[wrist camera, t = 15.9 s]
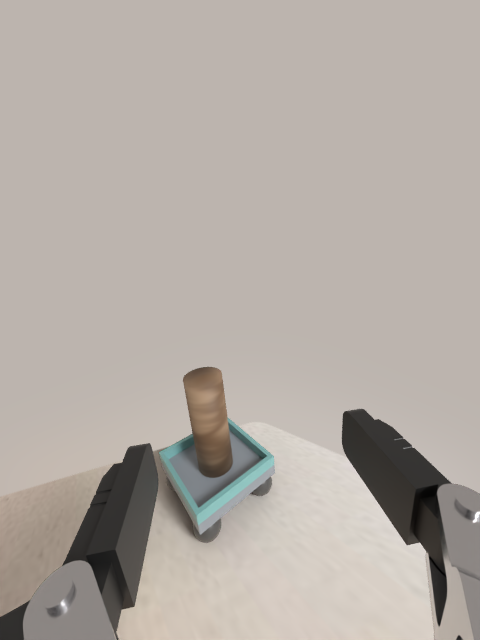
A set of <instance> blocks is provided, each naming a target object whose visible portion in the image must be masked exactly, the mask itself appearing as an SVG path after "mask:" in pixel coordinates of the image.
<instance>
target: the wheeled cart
mask: <svg viewBox="0 0 480 640" xmlns="http://www.w3.org/2000/svg"><path fill="white" fill-rule="evenodd" d="M227 418H228V417H227ZM228 426H229V433H230V441H231V448H232V456H233V464H232V467H231V469H230V470H229V471H228V472H227V473H226V474H224V475H222V476H220V477H216V478H209V477H206V476H204V475H202V474H201V472H200V471H199V466H198V461H197V455H196V450H195V444H194V438H193V434H191V435H189V436H188V437H186V438H184V439H182V440H181V441H179V442H177V443H175V444H173V445H171V446H170V447H168V448H166V449H164V450H162V451H161V452H159V455H160V459H161V464H162V468H163V470H164V472H165V473H166V475H167V478H166V480H167V485H168V487H169V488H170V489H171V490H174V491H176V493H177V495H178V496H179V498H180V500H181V502H182V504H183V505H184V507H185V509H186V511H187V512H188V514H189V516H190V518H191V520H192V521H193V531H194V534H195V536H196V538H197V539H198V540H199V541H201V542H204V543H208V542H211V541H213V540H214V539H215V538H216V537H217V535H218V534H219V532H220V528H221V517H222V516H224V515H225V514H226V513H227V512H228V511H230V510H231V509H232V508H233V507H234V506H236V505H237V504H238V503H239V502H241V501H242V500H243V499H244V498H245V497H247V496H248V495H249V494H250V493H251V492H252V493H254V494H255V495H258V496H263V495H265V494H267V493H268V492H269V490H270V488H271V485H272V479H271V476H272V475H273V474H274V473H275V469H274V456H273V455H272V454H270V453H269V452H268V451H267V450H266V449H265V448H263V447H262V446H261V445H260V444H259V443H257V442H256V441H255V440H254V439H253V438H251V437H250V436H249V435H248V434H247V433H246V432H244V431H243V430H242V429H241V428H240V427H238V426H237V425H236V424H235V423H234V422H232V421H231V420H230V419H229V418H228Z"/></svg>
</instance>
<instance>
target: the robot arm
mask: <svg viewBox="0 0 480 640" xmlns="http://www.w3.org/2000/svg"><path fill="white" fill-rule="evenodd" d="M342 426H343V427H342V445H343V449H344V452H345V454H346V456H347V458H348V459H349V461H350V462H351V464H352V465H353V467H354V468H355V470H356V471H357V473H358V474H359V475H360V477H361V478H362V480H363V481H364V483H365V484H366V486H367V487H368V489H369V490H370V492H371V493H372V495H373V496H374V497H375V499H376V500H377V502H378V503H379V505H380V506H381V508H382V509H383V511H384V512H385V514H386V515H387V517H388V518H389V520H390V521H391V522H392V524H393V525H394V527H395V528H396V530H397V531H398V533H399V534H400V536H401V537H402V539H403V540H404V542H405V543H406V545H410V544H415V543H419V542H420V543H421V545H422V546H423V547H424V549H425V550H426V555H425V558H426V567H427V576H428V585H429V593H430V602H431V611H432V619H433V628H434V640H480V494H479V493H477V492H476V491H474V490H472V489H469V488H467V487H465V486H462V485H458V484H452V483H451V482H449V481H448V480H447V479H446V478H445V477H444V476H443V475H442V474H441V473H440V472H439V471H438V470H437V469H436V468H435V467H434V466H432V465H431V463H429V462H428V461H427V460H426V459H425V458H424V457H423V456H422V455H421V454H420V453H419V452H418V451H417V450H416V449H415V448H412V445H411V444H410V443H408V442H407V441H406V440H405V439H403V437H402V436H401V435H400V434H399V433H398V432H397V431H396V430H395V429H394V428H393V427H391V426H389V425H388V424H386V423H384V422H382V421H381V420H379V419H378V420H374V419H373V418H372V417H371V416H370V415H369V414H368V413H367V412H366V411H365V410H364V409H357V410H351V411H345V412H344V413H343V425H342ZM157 491H158V473H157V469H156V464H155V460H154V456H153V451H152V447H151V445H150V444H149V443H148V444H142V445H136V446H130V447H129V448H128V450H127V452H126V454H125V457H124V459H123V462H122V463H118V464H114V465H113V466H112V467H111V468H110V469H109V471H108V472H107V473H106V474H105V475H104V476H103V478H102V480H101V482H100V484H99V487H98V489H97V491H96V495H95V496H94V498H93V500H92V502H91V504H90V508H89V509H88V511H87V513H86V515H85V518H84V520H83V522H82V524H81V526H80V529H79V531H78V533H77V535H76V537H75V540H74V542H73V544H72V546H71V548H70V551H69V553H68V555H67V557H66V559H65V561H64V563H63V565H62V567H60V568H59V569H57V570H56V571H54V572H53V573H52V574H51V575H50V576H49V577H48V578H47V579H46V580H45V581H44V582H43V583H42V584H41V585H40V587H39V588H38V589H37V591H36V592H35V593H34V595H33V597H32V598H31V600H30V601H28V602H27V603H25V604H23V605H22V606H20V607H18V608H16V609H14V610H13V611H11V612H9V613H7V614H5V615H4V616H2V617H0V640H119V638H118V635H117V632H116V631H117V627H118V622H119V618H120V614H121V610H122V609H126V608H130V607H134V606H135V601H136V596H137V591H138V586H139V581H140V576H141V571H142V566H143V561H144V556H145V551H146V546H147V541H148V536H149V531H150V526H151V521H152V516H153V511H154V506H155V501H156V496H157Z"/></svg>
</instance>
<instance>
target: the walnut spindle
mask: <svg viewBox="0 0 480 640" xmlns="http://www.w3.org/2000/svg"><path fill="white" fill-rule="evenodd" d="M183 382H184V388H185V393H186V399H187V404H188V410H189V416H190V421H191V427H192V433H193V438H194V444H195V450H196V455H197V461H198V466H199V471H200V472H201V474H202V475H204V476H206V477H209V478H216V477H220V476H222V475H224V474H226V473H227V472H228V471H229V470H230V469H231V467H232V464H233V456H232V448H231V441H230V433H229V426H228V418H227V410H226V403H225V395H224V388H223V380H222V373H221V371H220V370H219V369H217V368H213V367H203V368H198V369H195V370H192V371H190V372H189V373H187V374H186V375H185V376H184V378H183Z"/></svg>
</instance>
